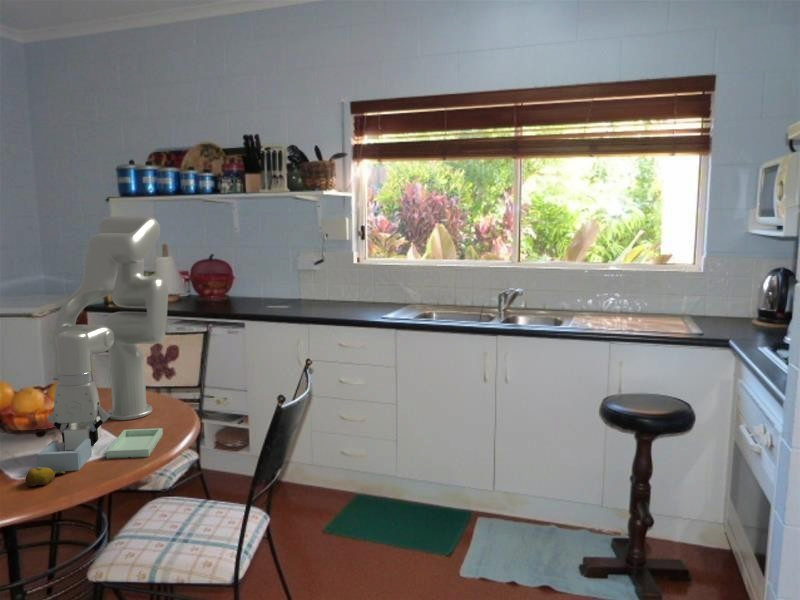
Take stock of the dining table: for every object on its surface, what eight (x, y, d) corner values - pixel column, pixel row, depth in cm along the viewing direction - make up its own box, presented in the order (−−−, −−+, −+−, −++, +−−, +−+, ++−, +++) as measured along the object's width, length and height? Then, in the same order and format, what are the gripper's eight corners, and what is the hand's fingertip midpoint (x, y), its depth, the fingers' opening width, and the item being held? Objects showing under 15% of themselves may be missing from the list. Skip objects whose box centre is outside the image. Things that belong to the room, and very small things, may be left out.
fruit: (67, 471, 147) (66, 457, 146) (55, 487, 139) (54, 472, 138) (29, 474, 145) (28, 460, 145) (15, 491, 137) (14, 475, 137)
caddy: (80, 438, 167) (77, 406, 166) (101, 437, 168) (99, 406, 166) (65, 453, 157) (62, 419, 156) (88, 451, 158) (85, 418, 157)
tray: (124, 436, 168) (124, 429, 168) (162, 435, 170) (162, 428, 169) (106, 458, 154) (106, 451, 154) (148, 456, 155) (148, 449, 155)
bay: (54, 457, 154) (52, 440, 154) (91, 455, 156) (90, 439, 155) (39, 472, 146) (37, 454, 145) (79, 470, 147) (77, 452, 146)
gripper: (33, 383, 153) (39, 452, 155) (105, 381, 155) (110, 448, 158) (46, 375, 160) (52, 440, 163) (115, 373, 162) (119, 437, 165)
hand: (80, 444), depth 160 cm, fingers closed on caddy, 5 cm apart
